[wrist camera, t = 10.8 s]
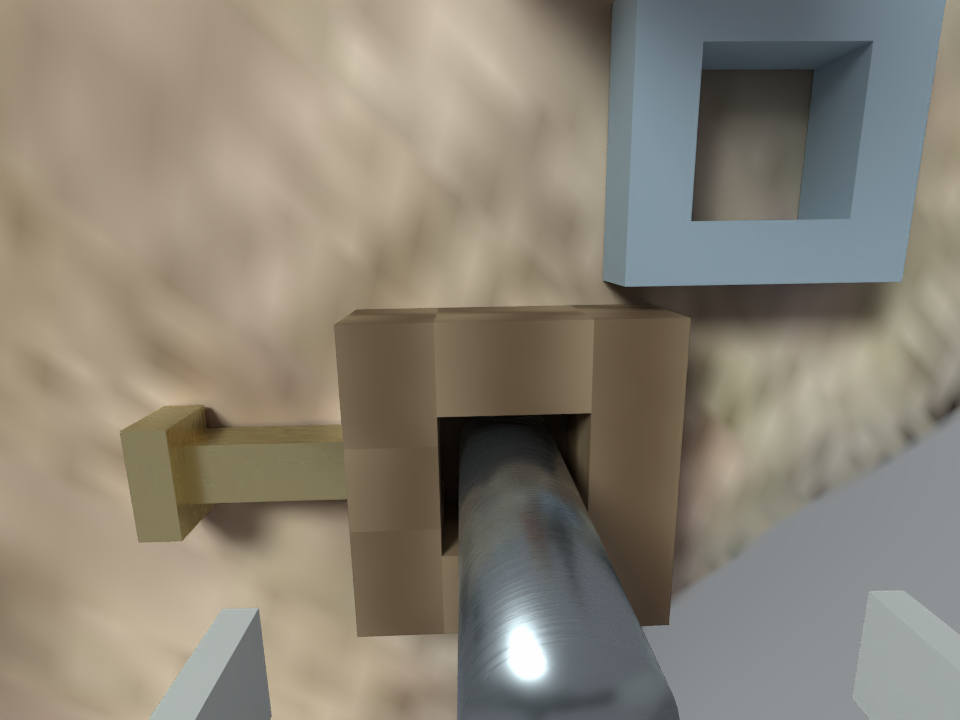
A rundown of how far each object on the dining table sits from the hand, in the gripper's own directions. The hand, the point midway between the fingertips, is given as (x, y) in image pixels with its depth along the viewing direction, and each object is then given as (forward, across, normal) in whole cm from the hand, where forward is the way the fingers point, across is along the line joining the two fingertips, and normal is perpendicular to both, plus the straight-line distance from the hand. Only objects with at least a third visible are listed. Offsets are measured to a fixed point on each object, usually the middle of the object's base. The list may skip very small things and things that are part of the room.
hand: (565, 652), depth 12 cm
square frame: (+12, +8, +12) cm, 19 cm away
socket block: (+12, 0, 0) cm, 12 cm away
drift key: (+12, -10, 0) cm, 15 cm away
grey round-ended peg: (+12, 0, 0) cm, 12 cm away
